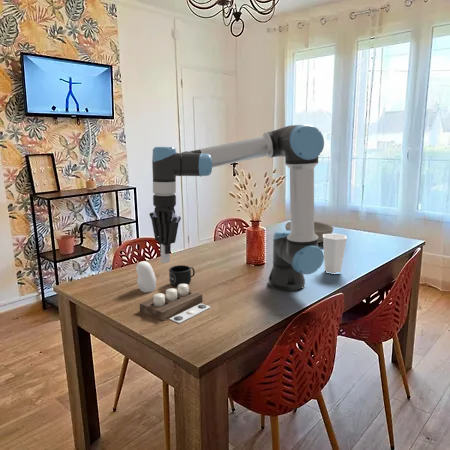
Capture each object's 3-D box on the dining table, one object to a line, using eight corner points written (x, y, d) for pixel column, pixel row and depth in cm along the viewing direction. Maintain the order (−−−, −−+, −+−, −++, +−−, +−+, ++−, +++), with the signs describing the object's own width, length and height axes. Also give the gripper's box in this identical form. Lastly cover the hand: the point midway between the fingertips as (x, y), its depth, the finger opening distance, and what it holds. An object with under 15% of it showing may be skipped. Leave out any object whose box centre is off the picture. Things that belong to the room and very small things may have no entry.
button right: (190, 295, 148) (190, 285, 147) (183, 298, 145) (183, 288, 144) (183, 292, 151) (183, 282, 150) (175, 295, 148) (175, 285, 147)
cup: (349, 272, 179) (351, 236, 175) (338, 278, 171) (340, 240, 168) (326, 267, 186) (328, 232, 182) (315, 272, 179) (317, 236, 175)
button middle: (179, 300, 144) (179, 290, 143) (171, 303, 140) (171, 293, 140) (172, 297, 146) (171, 287, 145) (164, 301, 143) (163, 290, 142)
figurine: (138, 286, 163) (137, 259, 160) (157, 286, 164) (155, 258, 161) (136, 293, 156) (134, 264, 153) (155, 292, 157) (154, 263, 154)
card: (211, 307, 142) (210, 306, 142) (179, 323, 130) (179, 322, 130) (200, 304, 146) (200, 302, 145) (169, 319, 133) (169, 318, 133)
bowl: (280, 236, 244) (280, 220, 242) (322, 235, 247) (323, 219, 245) (292, 248, 217) (292, 231, 215) (339, 247, 220) (340, 229, 218)
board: (202, 301, 148) (202, 294, 147) (162, 320, 132) (162, 312, 132) (179, 293, 155) (179, 286, 154) (139, 311, 140) (139, 303, 139)
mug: (177, 290, 159) (177, 273, 157) (165, 284, 166) (164, 268, 164) (201, 283, 167) (200, 267, 165) (188, 277, 173) (188, 262, 172)
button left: (167, 305, 139) (167, 295, 138) (159, 309, 136) (158, 298, 135) (159, 302, 141) (159, 292, 141) (151, 306, 138) (150, 295, 138)
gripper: (186, 195, 129) (186, 263, 134) (159, 191, 136) (160, 256, 141) (170, 197, 123) (170, 268, 128) (142, 193, 131) (144, 260, 136)
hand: (165, 262), depth 135 cm, fingers closed
